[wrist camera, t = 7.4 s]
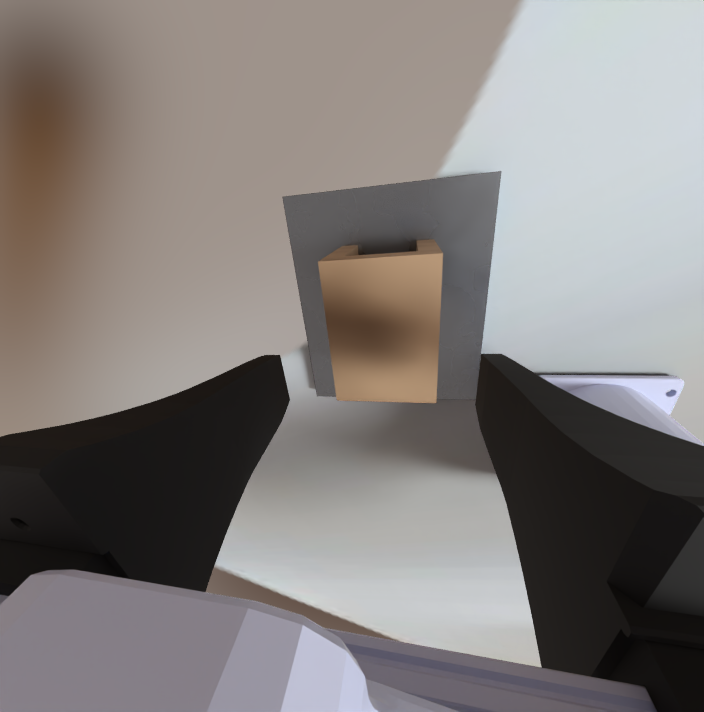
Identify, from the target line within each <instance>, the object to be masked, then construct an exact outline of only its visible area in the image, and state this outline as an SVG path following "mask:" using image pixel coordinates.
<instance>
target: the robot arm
mask: <svg viewBox="0 0 704 712" xmlns="http://www.w3.org/2000/svg"><path fill="white" fill-rule="evenodd" d="M683 387H684V381H683V380H681V379H680V378H678V377H677V376H621V375H539V376H538V375H536V374H535V373H533V372H531V371H530V370H528V369H526V368H525V367H523V366H522V365H520V364H518V363H517V362H515V361H513V360H512V359H510V358H508V357H506V356H504V355H502V354H481V360H480V369H479V378H478V386H477V395H476V404H475V405H476V410H477V415H478V420H479V425H480V429H481V432H482V435H483V438H484V441H485V444H486V447H487V449H488V452H489V455H490V458H491V460H492V463H493V466H494V469H495V471H496V474H497V477H498V480H499V482H500V485H501V488H502V491H503V494H504V497H505V500H506V504H507V508H508V512H509V516H510V520H511V524H512V528H513V532H514V536H515V540H516V545H517V549H518V554H519V558H520V562H521V567H522V571H523V576H524V581H525V585H526V590H527V595H528V600H529V605H530V609H531V614H532V619H533V624H534V629H535V635H536V640H537V645H538V650H539V656H540V661H541V666H542V668H540V667H535V666H529V665H524V664H518V663H513V662H508V661H502V660H497V659H491V658H486V657H480V656H475V655H469V654H464V653H459V652H453V651H448V650H442V649H437V648H431V647H426V646H420V645H415V644H409V643H404V642H399V641H393V640H388V639H382V638H377V637H371V636H366V635H360V634H355V633H349V632H344V631H338V630H333V629H328V628H323V627H321V626H320V625H318V624H316V623H315V622H313V621H311V620H309V619H308V618H306V617H305V616H303V615H300V614H297V613H293V612H290V611H287V610H284V609H280V608H277V607H274V606H271V605H267V604H264V603H260V602H257V601H253V600H247V599H241V598H235V597H230V596H224V595H218V594H212V593H207V592H205V591H206V588H207V585H208V582H209V579H210V576H211V573H212V570H213V568H214V565H215V562H216V559H217V557H218V554H219V551H220V548H221V546H222V543H223V540H224V538H225V535H226V532H227V530H228V527H229V525H230V523H231V520H232V518H233V515H234V513H235V510H236V508H237V505H238V503H239V501H240V499H241V496H242V494H243V492H244V489H245V487H246V485H247V483H248V480H249V479H250V477H251V475H252V473H253V471H254V469H255V467H256V466H257V464H258V462H259V460H260V459H261V457H262V455H263V453H264V452H265V450H266V448H267V446H268V445H269V443H270V441H271V440H272V438H273V436H274V434H275V432H276V431H277V429H278V427H279V425H280V423H281V422H282V419H283V417H284V414H285V412H286V409H287V406H288V404H289V401H290V398H289V393H288V389H287V385H286V380H285V376H284V371H283V367H282V362H281V358H280V355H264V356H261V357H258V358H256V359H253V360H251V361H248V362H246V363H244V364H242V365H240V366H238V367H235V368H233V369H231V370H229V371H227V372H225V373H223V374H221V375H219V376H216V377H214V378H212V379H210V380H207V381H205V382H203V383H201V384H198V385H196V386H194V387H192V388H189V389H187V390H184V391H182V392H179V393H177V394H174V395H172V396H168V397H166V398H163V399H160V400H157V401H154V402H151V403H148V404H144V405H141V406H138V407H135V408H131V409H128V410H124V411H121V412H118V413H114V414H110V415H106V416H102V417H98V418H94V419H89V420H85V421H80V422H75V423H71V424H66V425H61V426H55V427H50V428H44V429H38V430H33V431H27V432H21V433H15V434H9V435H5V436H2V437H0V712H704V443H702V442H701V441H700V440H699V439H698V438H696V437H695V436H694V435H693V434H691V433H690V432H689V431H688V430H687V429H685V428H684V427H683V426H682V425H680V424H679V423H678V422H677V421H676V420H674V419H673V418H672V417H671V416H670V414H671V412H672V410H673V408H674V405H675V403H676V401H677V399H678V397H679V395H680V393H681V391H682V389H683ZM669 390H671V391H670V392H668V393H666V392H667V391H669Z"/></svg>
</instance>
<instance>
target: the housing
mask: <svg viewBox="0 0 704 712" xmlns="http://www.w3.org/2000/svg"><path fill="white" fill-rule="evenodd" d="M442 265H443V252H442V251H441V249H440V248H439V246H438V245H437V243H436V242H435V240H434V239H429V240H417V244H416V251H413V252H399V253H384V254H370V255H359V254H358V245H350V246H342V247H340V248H338V249H337V250H335V251H334V252H332V253H331V254H329V255H327V256H326V257H324V258H323V259H321V260H320V261H318V266H319V273H320V281H321V288H322V295H323V303H324V310H325V317H326V325H327V332H328V339H329V347H330V354H331V361H332V369H333V376H334V383H335V391H336V398H337V400H339V401H376V402H412V403H436V399H437V377H438V355H439V332H440V310H441V288H442Z"/></svg>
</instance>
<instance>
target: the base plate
mask: <svg viewBox="0 0 704 712" xmlns="http://www.w3.org/2000/svg"><path fill="white" fill-rule="evenodd" d="M500 179H501V171H498V172H490V173H481V174H473V175H464V176H456V177H447V178H439V179H430V180H422V181H413V182H405V183H396V184H388V185H379V186H371V187H363V188H353V189H346V190H336V191H329V192H320V193H311V194H302V195H294V196H286V197H283V203H284V208H285V215H286V220H287V226H288V232H289V237H290V243H291V248H292V254H293V260H294V266H295V272H296V278H297V283H298V289H299V295H300V301H301V306H302V312H303V317H304V323H305V329H306V335H307V341H308V347H309V352H310V358H311V364H312V370H313V375H314V381H315V387H316V393H317V396H332V397H336V391H335V383H334V376H333V369H332V361H331V354H330V347H329V339H328V332H327V325H326V317H325V310H324V303H323V295H322V288H321V281H320V273H319V266H318V261H320V260H321V259H323V258H324V257H326V256H327V255H329V254H331V253H332V252H334V251H335V250H337V249H338V248H340V247H342V246H350V245H358V254H359V255H370V254H384V253H399V252H413V251H416V244H417V240H429V239H434V240H435V242H436V243H437V245H438V246H439V248H440V249H441V251H442V252H443V265H442V288H441V310H440V332H439V355H438V377H437V399H466V400H476V392H477V384H478V375H479V366H480V357H481V348H482V339H483V330H484V321H485V312H486V303H487V294H488V286H489V277H490V268H491V259H492V250H493V241H494V232H495V223H496V214H497V205H498V196H499V188H500Z"/></svg>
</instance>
